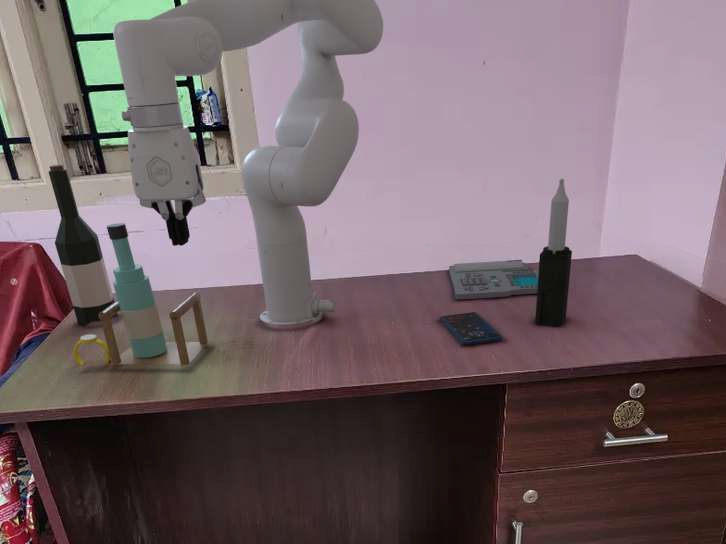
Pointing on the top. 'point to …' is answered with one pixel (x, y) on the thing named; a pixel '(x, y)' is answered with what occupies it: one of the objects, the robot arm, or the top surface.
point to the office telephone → (493, 279)
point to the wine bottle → (79, 254)
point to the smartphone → (470, 328)
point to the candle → (554, 266)
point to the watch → (90, 339)
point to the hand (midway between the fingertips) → (180, 243)
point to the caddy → (175, 351)
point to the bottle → (135, 299)
